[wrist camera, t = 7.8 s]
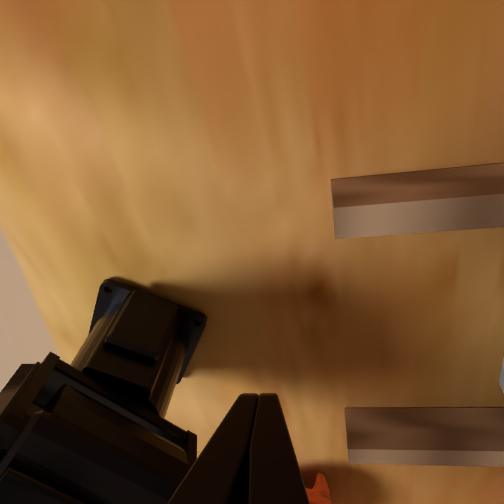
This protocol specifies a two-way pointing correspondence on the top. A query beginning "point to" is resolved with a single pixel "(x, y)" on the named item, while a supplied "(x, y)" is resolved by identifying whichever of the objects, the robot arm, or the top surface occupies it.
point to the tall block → (502, 377)
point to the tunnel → (407, 222)
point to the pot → (319, 491)
